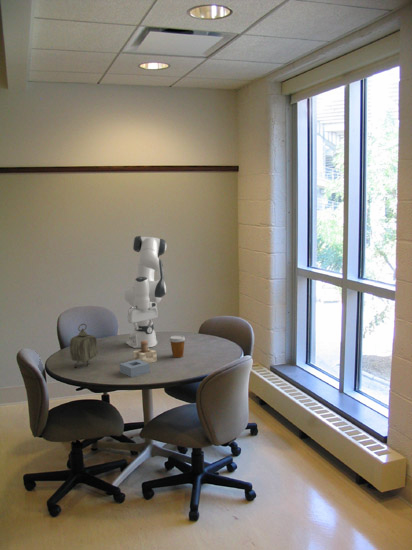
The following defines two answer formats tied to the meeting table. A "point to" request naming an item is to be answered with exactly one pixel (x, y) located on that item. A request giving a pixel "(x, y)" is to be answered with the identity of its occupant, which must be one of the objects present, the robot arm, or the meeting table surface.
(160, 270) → the robot arm
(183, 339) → the disposable coffee cup
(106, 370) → the meeting table surface
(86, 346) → the tabletop clock
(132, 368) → the socket
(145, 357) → the mount
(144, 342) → the pin
